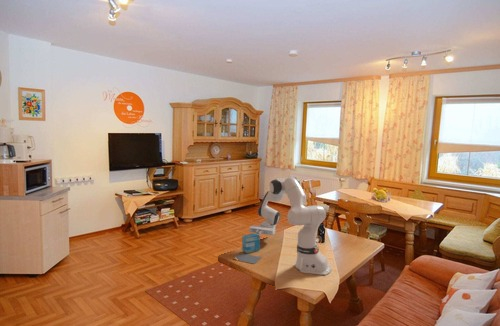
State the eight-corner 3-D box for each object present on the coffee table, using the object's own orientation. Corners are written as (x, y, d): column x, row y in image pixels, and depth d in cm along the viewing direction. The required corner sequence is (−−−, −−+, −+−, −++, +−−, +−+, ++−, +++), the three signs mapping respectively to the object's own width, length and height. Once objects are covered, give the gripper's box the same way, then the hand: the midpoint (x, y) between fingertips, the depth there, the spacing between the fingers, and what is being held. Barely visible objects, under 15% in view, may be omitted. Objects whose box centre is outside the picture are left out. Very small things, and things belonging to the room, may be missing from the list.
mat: (261, 257, 210) (261, 257, 210) (254, 264, 200) (254, 263, 200) (239, 253, 217) (239, 252, 217) (232, 259, 208) (232, 259, 208)
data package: (245, 253, 216) (244, 237, 215) (242, 251, 220) (242, 235, 219) (260, 250, 222) (259, 234, 220) (257, 248, 226) (256, 232, 224)
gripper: (253, 222, 246) (245, 227, 234) (277, 225, 237) (269, 230, 224) (253, 229, 247) (245, 235, 234) (277, 233, 237) (270, 239, 225)
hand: (257, 233), depth 229 cm, fingers closed
